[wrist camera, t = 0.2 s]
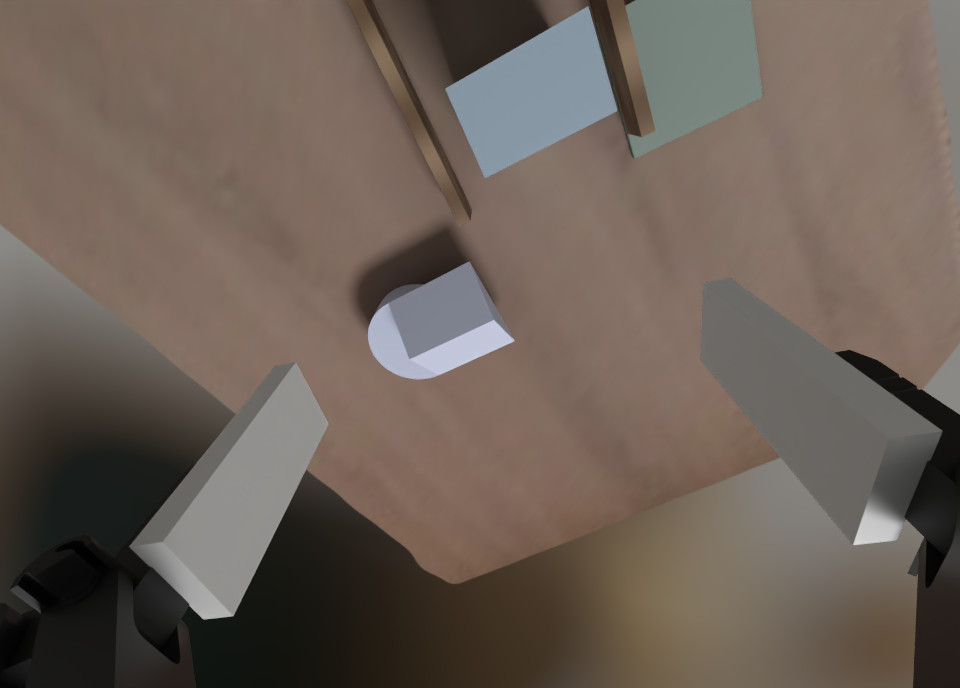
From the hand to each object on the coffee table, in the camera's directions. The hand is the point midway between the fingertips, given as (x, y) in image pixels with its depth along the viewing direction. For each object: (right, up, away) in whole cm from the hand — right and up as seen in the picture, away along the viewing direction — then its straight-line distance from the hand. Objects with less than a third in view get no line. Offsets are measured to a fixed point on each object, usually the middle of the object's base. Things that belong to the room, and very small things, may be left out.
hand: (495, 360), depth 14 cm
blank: (+2, +20, +19) cm, 28 cm away
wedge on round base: (-5, +3, +29) cm, 30 cm away
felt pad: (+15, +22, +18) cm, 32 cm away
